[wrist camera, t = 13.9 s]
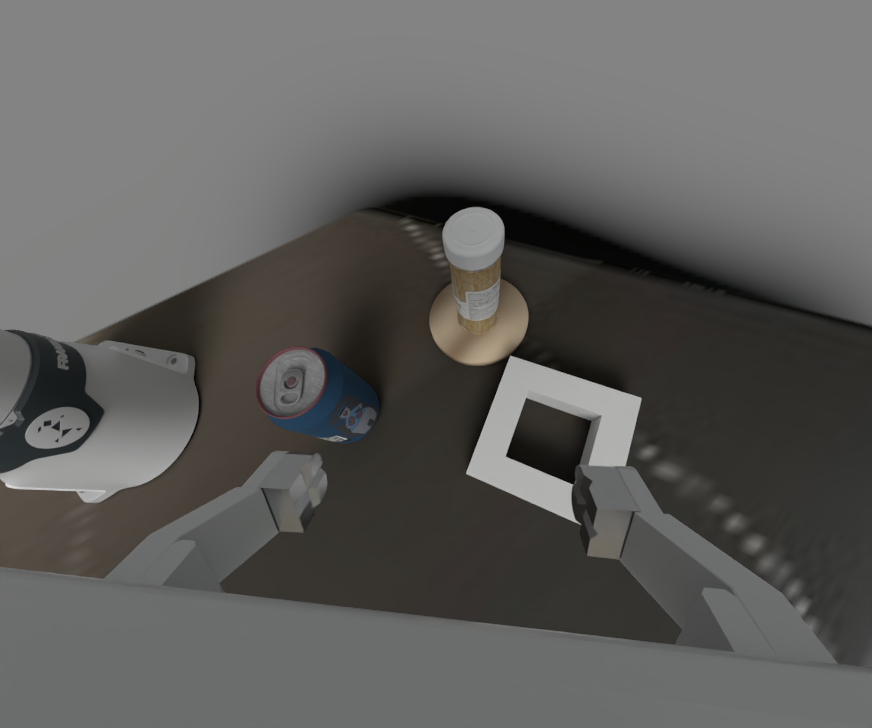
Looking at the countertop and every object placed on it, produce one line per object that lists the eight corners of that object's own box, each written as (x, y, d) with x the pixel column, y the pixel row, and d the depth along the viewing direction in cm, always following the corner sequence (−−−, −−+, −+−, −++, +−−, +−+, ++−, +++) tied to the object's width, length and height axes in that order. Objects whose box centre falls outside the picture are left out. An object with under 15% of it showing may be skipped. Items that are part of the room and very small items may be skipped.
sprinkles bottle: (455, 304, 36) (437, 211, 24) (494, 297, 36) (498, 198, 23) (460, 340, 34) (445, 260, 22) (502, 333, 34) (510, 247, 22)
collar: (467, 474, 31) (465, 473, 28) (508, 365, 34) (510, 355, 31) (596, 531, 28) (608, 537, 25) (627, 405, 31) (641, 398, 28)
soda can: (326, 385, 36) (255, 343, 25) (383, 380, 36) (336, 334, 24) (320, 446, 34) (239, 430, 23) (382, 442, 33) (329, 423, 22)
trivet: (416, 347, 36) (413, 343, 35) (452, 271, 39) (451, 265, 38) (508, 379, 33) (509, 376, 32) (539, 294, 36) (541, 288, 35)
